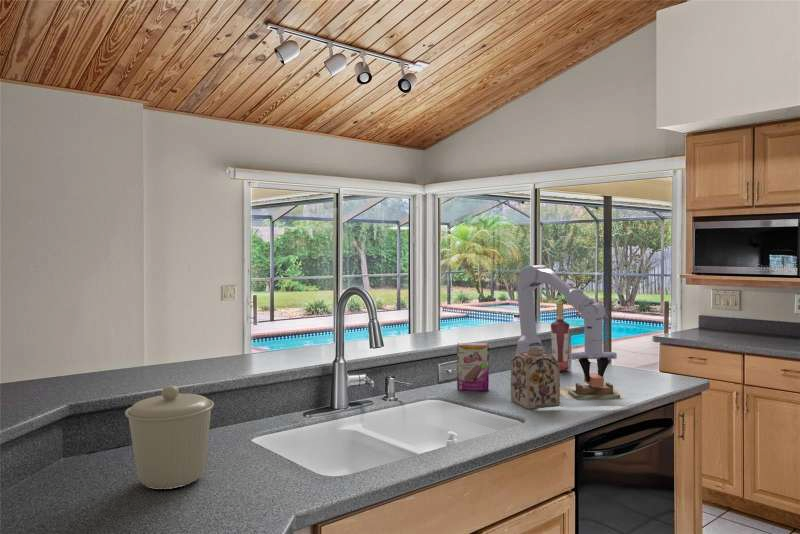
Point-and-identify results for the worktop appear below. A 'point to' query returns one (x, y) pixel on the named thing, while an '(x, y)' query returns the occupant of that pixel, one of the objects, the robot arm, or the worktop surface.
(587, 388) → the brown u-shaped block
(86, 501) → the worktop surface
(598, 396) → the jig
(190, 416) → the canister
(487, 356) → the candy bar box
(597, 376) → the pink rectangular block
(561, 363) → the liquor
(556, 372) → the decorative jar
